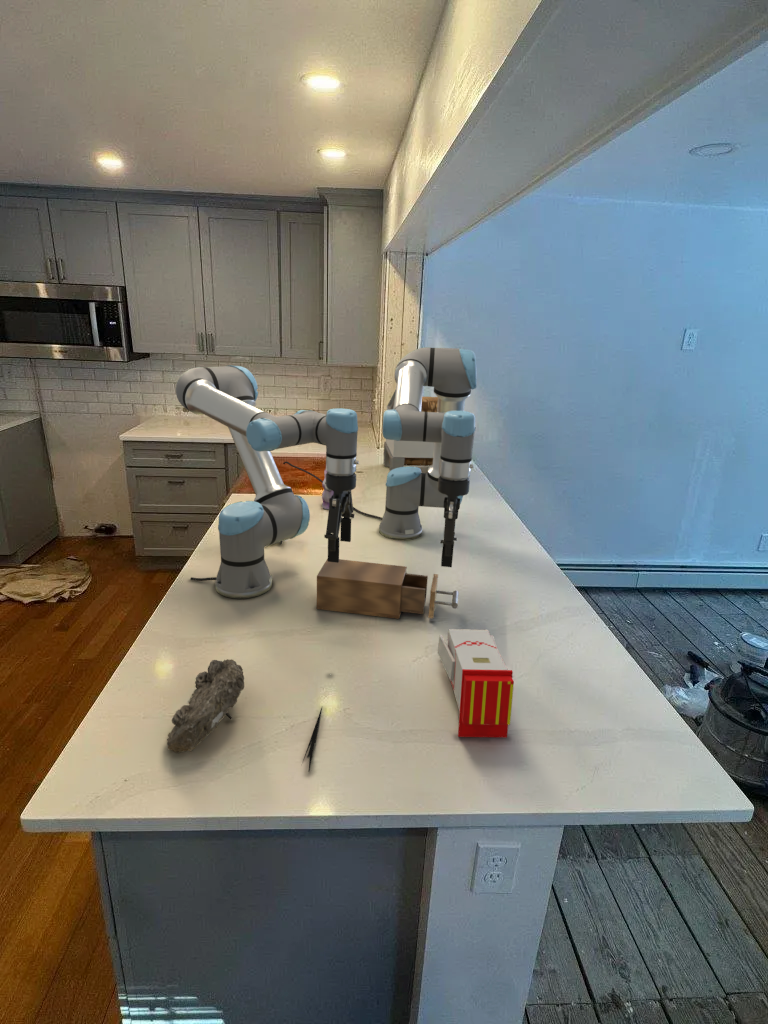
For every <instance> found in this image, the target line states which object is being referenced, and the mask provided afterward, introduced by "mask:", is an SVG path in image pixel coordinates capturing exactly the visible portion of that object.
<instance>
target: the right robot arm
mask: <svg viewBox="0 0 768 1024" xmlns="http://www.w3.org/2000/svg"><path fill="white" fill-rule="evenodd" d="M477 373H478V372H477V358H476V353H475V352H474V351H473V350H471V349H465V348H461V347H460V348H459V347H458V348H457V347H455V348H453V347H427V346H426V347H425V346H424V347H419V348H416V349H414V350H412V351H410V352H409V353H406V354H405V355H404V356H403V357H402V358H401V359H400V360H399V361H398V363H397V364H396V367H395V369H394V382H395V383H396V386H395V390H396V392H395V391H394V392H395V399H394V406H393V410H387V409H386V410H384V412H383V418H382V437H383V438H384V440H385V439H390V440H396V441H420V442H434V454H433V465H430V466H428V468H427V472H422V469H421V468H420V467H419V466H418V467H417V466H407V465H406V466H404V467H399V468H395V469H393V470H391V471H390V470H389V471H388V473H387V475H386V482H385V487H386V488H385V489H386V490H385V504H384V505H385V507H384V508H385V509H384V513H383V515H382V517H381V516H378V515H374V514H370V513H368V512H364V511H361V510H359V509H357V508H356V507H354V506H353V511H355V512H357V513H359V514H361V515H364V516H365V517H366V516H367V517H370V518H373V519H378V520H381V522H379V525H378V533H379V534H380V535H381V536H382V537H385V538H387V539H389V540H395V541H410V540H415V539H418V538H420V537H421V536H422V535H423V525H422V524H421V518H420V515H419V507H425V508H439V509H444V510H443V518H444V528H443V529H444V530H443V539H440V544H442V548H441V549H442V550H441V560H440V561H441V563H440V567H442V568H443V567H444V568H452V567H453V560H454V559H453V558H454V546H455V542H456V541H457V540H458V537H455V535H456V521H457V520H458V518H459V510H460V508H461V504H462V502H463V498H464V496H466V495H467V494H469V492H470V484H471V483H470V482H471V479H470V477H471V470H472V469H474V467H475V465H474V464H473V463H472V461H473V449H474V441H475V432H476V415H475V414H474V413H473V412H470V411H467V410H465V406H466V399H467V398H469V397H470V396H471V394H472V390H475V389H477V382H478V379H477V378H478V376H477V375H478V374H477ZM424 387H430V388H431V387H432V388H433V394H434V395H435V397H438V404H437V412H421V406H422V397H423V389H424ZM282 464H283V465H285V464H287V465H289V466H290V467H292V468H295V469H297V470H300V471H301V472H304V473H306V474H307V475H310V476H311V477H313V478H315V479H316V480H318V481H319V482H320V483H321V484H322V483H323V481H324V480H322V479H321V478H319V477H318V476H317V475H315V474H314V473H311V472H310V471H308V470H306V469H303V468H302V467H298V466H296V465H294V464H292V463H290V462H289V461H284V462H283V463H282Z"/></svg>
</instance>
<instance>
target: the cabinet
mask: <svg viewBox="0 0 768 1024" xmlns="http://www.w3.org/2000/svg"><path fill="white" fill-rule="evenodd" d="M407 570H408V567H407V566H406V565H405V566H404V565H395V564H387V563H378V562H368V561H359V560H351V559H350V560H349V559H340V558H339V562H338V563H337V562H328V558H327V559H326V561H325V562H324V563H323V565H322V567H321V569H320V570H319V571H318V573H317V575H316V609H317V610H321V611H322V610H323V611H331V612H339V613H347V614H353V615H354V614H356V615H364V616H372V617H380V618H387V619H396V620H400V618H401V614H402V612H401V611H400V606H401V590H402V584H403V581H404V577H405V574H406V573H408V571H407Z"/></svg>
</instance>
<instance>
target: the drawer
mask: <svg viewBox="0 0 768 1024" xmlns="http://www.w3.org/2000/svg"><path fill="white" fill-rule="evenodd" d="M428 579H429V576H428V575H424V574H416V573H408V572H407V573H406V574H405V577H404V581H403V584H402V590H401V606H400V611H401V613H402V612H403V613H409V614H410V613H411V614H418V615H424V613H425V612H424V611H425V606H426V600H427V592H428ZM438 580H439V574H437V573H433V576H432V581H431V582H432V583H431V586H430V592H429V593H430V594H429V604H428V605H429V606H428V619H434V617H435V609H436V605H442V606H449V607H452V609H458V607H459V599H460V597H459V596H460V592H459V591H458V590H457V589H456V590H453V591H446V590H445V591H444V590H438V584H439V583H438ZM438 594H439V595H448V596H451V602H449V601H441V600H437V595H438Z"/></svg>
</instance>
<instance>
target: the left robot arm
mask: <svg viewBox="0 0 768 1024" xmlns="http://www.w3.org/2000/svg"><path fill="white" fill-rule="evenodd" d="M258 389H259V387H258V382H257V380H256V377H255V376H254V375H253V373H252V372H251V371H250V370H249V369H248V368H247V367H244V366H241V365H232V364H229V365H224V366H223V365H222V366H204V367H202V366H200V367H193V368H189V369H188V370H186V371H184V372H183V373H182V374H181V375H180V376H179V378H178V379H177V381H176V386H175V396H176V398H177V401H178V402H179V404H180V405H181V407H183V408H184V409H186V410H187V411H188V412H190V413H192V414H195V415H198V416H203V415H204V416H206V417H208V418H210V419H212V420H214V421H216V422H218V423H220V424H222V425H224V426H225V427H227V428H228V430H229V433H230V436H231V438H232V440H233V442H234V443H233V444H234V445H235V448H236V450H237V453H238V455H239V457H240V460H241V463H242V465H243V468H244V470H245V473H246V475H247V477H248V480H249V482H250V485H251V487H252V489H253V492H254V494H255V496H254V500H245V501H235V502H233V503H231V504H228V505H226V506H225V507H223V508H222V509H221V511H220V512H219V515H218V525H217V529H218V535H219V550H220V553H219V554H220V565H219V568H218V571H217V575H216V576H215V577H214V576H212V577H211V576H210V577H192V576H191V577H190V581H195V582H205V581H215V583H214V584H215V591H216V593H218V594H219V595H220V596H223V597H225V598H230V599H237V600H238V599H239V600H241V599H251V598H255V597H259V596H261V595H264V594H265V593H267V592H268V591H270V589H271V588H272V586H273V579H274V578H273V575H272V574H271V572H270V570H269V567H268V564H267V562H266V559H265V547H268V546H272V545H274V544H278V543H280V542H281V541H283V542H284V541H286V540H292V539H294V538H296V537H298V536H301V535H302V534H304V533H305V532H306V531H307V530H308V528H309V523H310V520H311V514H310V508H309V505H308V502H307V501H306V500H305V499H304V498H303V497H302V496H301V495H297V494H295V493H294V491H293V489H292V487H291V486H289V485H286V484H284V481H283V479H282V476H281V474H280V472H279V469H278V467H277V464H276V462H275V459H274V457H273V454H272V451H275V450H280V449H285V448H290V447H296V446H302V445H307V444H312V443H313V444H318V445H322V446H325V447H326V448H325V469H326V471H327V473H326V487H327V488H328V489H330V490H332V491H334V493H333V495H332V497H331V498H330V499H329V509H328V514H327V520H326V521H327V522H326V530H325V534H324V536H323V537H324V539H327V559H328V562H337V563H338V562H339V559H340V542H344V543H345V542H346V543H351V540H352V519H354V518H355V513H354V509H353V507H354V506H353V505H354V503H353V496H352V494H353V493H352V490H354V489H355V488H356V487H357V474H356V473H355V472H357V465H359V464H360V463H359V460H357V456H358V455H357V453H358V451H357V450H358V432H359V427H358V426H359V425H358V424H359V422H358V414H357V411H355V410H353V409H350V408H341V407H339V408H337V407H335V408H330V409H328V410H327V411H326V414H325V413H321V412H317V411H315V410H312V409H311V410H310V409H309V410H307V409H300V410H298V411H296V412H295V413H294V414H288V415H287V414H286V415H279V416H275V415H273V414H271V413H268V412H265V411H264V410H262V409H260V408H257V407H256V406H257V403H256V401H257V400H258V395H259V392H258ZM334 507H335V508H334Z"/></svg>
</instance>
